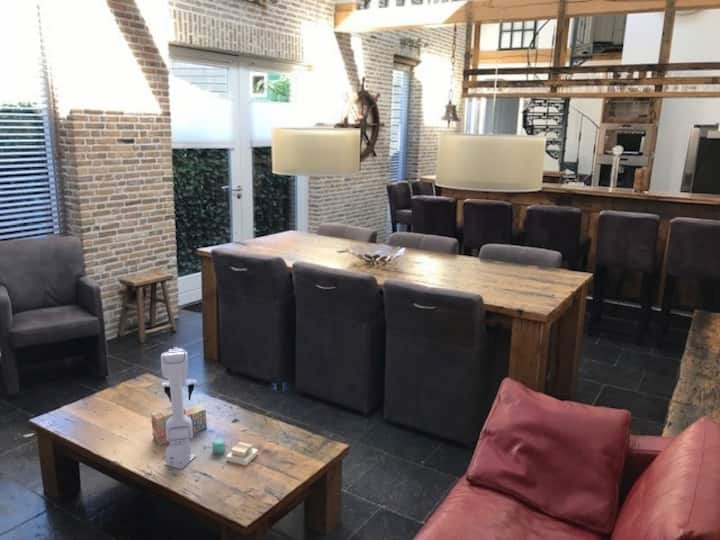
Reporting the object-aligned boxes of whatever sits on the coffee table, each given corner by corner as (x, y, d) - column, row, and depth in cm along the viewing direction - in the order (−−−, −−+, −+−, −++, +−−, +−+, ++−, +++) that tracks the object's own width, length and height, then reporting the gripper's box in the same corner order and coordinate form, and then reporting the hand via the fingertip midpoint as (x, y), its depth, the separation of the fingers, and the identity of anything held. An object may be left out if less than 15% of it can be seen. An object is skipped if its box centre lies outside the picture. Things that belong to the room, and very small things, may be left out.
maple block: (244, 458, 234) (244, 452, 233) (231, 454, 236) (231, 449, 236) (252, 450, 239) (252, 445, 239) (239, 447, 242) (239, 441, 241)
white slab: (246, 466, 233) (246, 461, 232) (226, 461, 236) (226, 456, 235) (258, 454, 241) (258, 449, 240) (239, 450, 244) (238, 444, 243)
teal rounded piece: (220, 455, 239) (220, 446, 238) (210, 453, 241) (209, 444, 240) (227, 449, 243) (227, 440, 242) (217, 446, 245) (217, 438, 244)
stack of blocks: (200, 423, 264) (199, 397, 260) (207, 428, 259) (205, 403, 256) (153, 439, 250) (150, 412, 247) (158, 445, 246) (156, 418, 243)
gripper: (195, 367, 262) (197, 392, 267) (161, 369, 258) (163, 395, 264) (195, 376, 255) (197, 402, 261) (160, 379, 252) (162, 405, 257)
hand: (180, 399), depth 262 cm, fingers open, 7 cm apart
